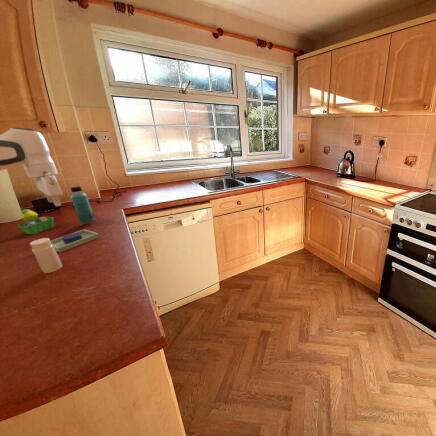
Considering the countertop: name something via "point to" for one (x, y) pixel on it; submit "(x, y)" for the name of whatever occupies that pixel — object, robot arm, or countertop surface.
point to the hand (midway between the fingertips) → (55, 203)
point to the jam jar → (46, 255)
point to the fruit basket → (34, 222)
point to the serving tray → (86, 237)
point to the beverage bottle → (82, 206)
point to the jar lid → (71, 238)
